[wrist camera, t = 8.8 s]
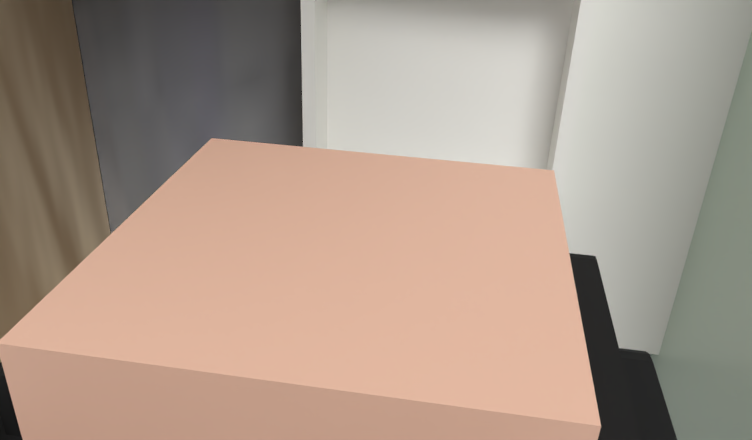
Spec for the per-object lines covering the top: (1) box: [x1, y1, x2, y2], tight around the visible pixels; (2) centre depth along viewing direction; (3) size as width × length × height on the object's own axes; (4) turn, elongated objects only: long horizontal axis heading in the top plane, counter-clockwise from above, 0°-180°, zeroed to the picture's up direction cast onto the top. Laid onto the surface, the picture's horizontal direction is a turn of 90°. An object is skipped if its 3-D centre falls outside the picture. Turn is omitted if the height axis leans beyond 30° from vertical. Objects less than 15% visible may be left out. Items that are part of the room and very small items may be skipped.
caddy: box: [0, 0, 111, 362], centre depth 19 cm, size 13×20×8 cm, turn 177°
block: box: [0, 138, 601, 440], centre depth 9 cm, size 5×5×5 cm
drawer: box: [301, 0, 752, 440], centre depth 18 cm, size 13×21×8 cm, turn 177°
